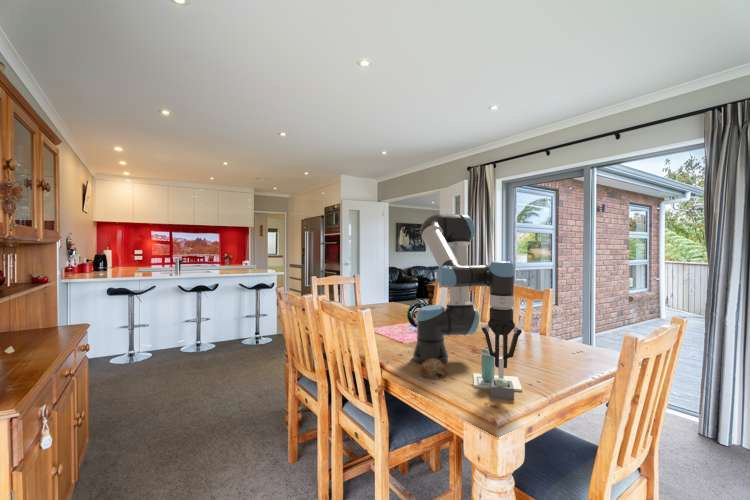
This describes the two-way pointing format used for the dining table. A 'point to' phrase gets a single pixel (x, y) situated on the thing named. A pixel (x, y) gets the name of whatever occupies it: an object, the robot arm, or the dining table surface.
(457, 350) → the dining table surface
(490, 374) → the white-capped teal capsule
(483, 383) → the sheet
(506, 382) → the button
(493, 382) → the button housing
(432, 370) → the bread roll
